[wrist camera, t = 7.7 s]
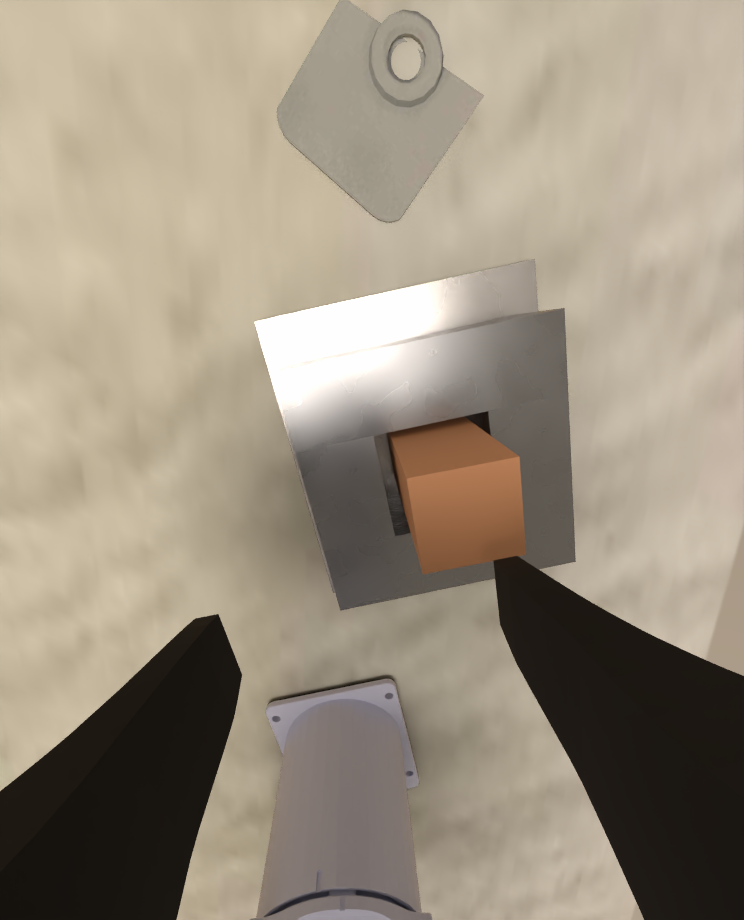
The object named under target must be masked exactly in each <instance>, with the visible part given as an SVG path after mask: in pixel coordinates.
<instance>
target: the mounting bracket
mask: <svg viewBox="0 0 744 920" xmlns="http://www.w3.org/2000/svg"><path fill="white" fill-rule="evenodd" d="M402 37H411V38H413V39H414V40H416V41H417V42H418V43H419V44H420V46H421V47H422V49H423V52H424V53H423V52H421V51H420V50H418V51H419V53H420V57H421V66H420V69H419V72H418V74H417V75H416V76H415V77H414V78H412V79H410V80H402V79H399V78H398V77H397V76H396V75H395V74H394V72H393V70H392V67H391V55H392V52H393V50H394V48H395V47H396V46H397V45H398V44H400V43H402V42H407V41H405V40H404V39H403V38H402ZM483 97H484V95H483V94H481V93H480V92H478V91H477V90H476V89H474V88H473V87H471V86H470V85H468V84H467V83H466V82H464V81H463V80H461V79H460V78H458V77H457V76H456V75H454V74H453V73H451V72H450V71H448V70H447V69H446V68H444V67H443V51H442V47H441V42H440V38H439V34H438V33H437V31H436V29H435V28H434V26H433V25H432V23H431V21H430V20H429V19H427V18H426V17H424V16H423V15H421V14H420V13H419V12H416V11H408V10H401V11H399V12H396V13H394V14H391V15H389V16H388V17H387V18H386V20H385V21H384V22H383V23H382V24H381V23H380V22H378V21H377V20H375V19H374V18H373V17H371V16H370V15H368V14H367V13H365V12H364V11H363V10H361V9H360V8H358V7H357V6H355V5H354V4H353V3H351V2H350V1H348V0H339V2H338V4H337V5H336V7H335V9H334V11H333V12H332V14H331V16H330V17H329V19H328V21H327V23H326V24H325V26H324V28H323V30H322V31H321V33H320V35H319V37H318V38H317V40H316V42H315V44H314V45H313V47H312V49H311V51H310V52H309V54H308V56H307V57H306V59H305V61H304V63H303V64H302V66H301V68H300V70H299V71H298V73H297V75H296V77H295V78H294V80H293V82H292V84H291V85H290V87H289V89H288V91H287V92H286V94H285V96H284V98H283V99H282V101H281V103H280V104H279V106H278V108H277V118H278V122H279V126H280V129H281V130H282V132H283V134H284V136H285V137H286V138H287V140H288V141H289V142H290V143H291V144H292V145H293V146H294V147H296V148H297V149H298V150H299V151H300V152H301V153H302V154H303V155H305V156H306V157H307V158H308V159H309V160H310V161H311V162H312V163H314V164H315V165H316V166H317V167H318V168H319V169H320V170H322V171H323V172H324V173H325V174H326V175H327V176H328V177H329V178H331V179H332V180H333V181H334V182H335V183H336V184H337V185H338V186H340V187H341V188H342V189H343V190H344V191H345V192H346V193H348V194H349V195H350V196H351V197H352V198H353V199H354V200H355V201H357V202H358V203H359V204H360V205H361V206H362V207H363V208H364V209H366V210H367V211H368V212H369V213H370V214H371V215H372V216H374V217H375V218H377V219H379V220H381V221H384V222H394V221H397V220H400V218H401V217H402V215H403V214H404V212H405V211H406V209H407V208H408V206H409V205H410V203H411V202H412V201H413V199H414V198H415V196H416V195H417V193H418V192H419V190H420V189H421V187H422V186H423V184H424V183H425V182H426V180H427V179H428V177H429V176H430V174H431V173H432V171H433V170H434V168H435V167H436V165H437V164H438V162H439V161H440V160H441V158H442V157H443V155H444V154H445V152H446V151H447V149H448V148H449V146H450V145H451V143H452V142H453V140H454V139H455V138H456V136H457V135H458V133H459V132H460V130H461V129H462V127H463V126H464V124H465V123H466V121H467V120H468V119H469V117H470V116H471V114H472V113H473V111H474V110H475V108H476V107H477V105H478V104H479V102H480V101H481V99H482V98H483Z"/></svg>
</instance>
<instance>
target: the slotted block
mask: <svg viewBox="0 0 744 920" xmlns="http://www.w3.org/2000/svg"><path fill="white" fill-rule="evenodd" d="M255 325H256V329H257V332H258V336H259V339H260V343H261V346H262V349H263V353H264V356H265V360H266V363H267V367H268V370H269V373H270V377H271V380H272V384H273V387H274V391H275V394H276V398H277V401H278V404H279V408H280V411H281V415H282V418H283V422H284V425H285V429H286V432H287V435H288V439H289V442H290V446H291V449H292V453H293V456H294V459H295V463H296V466H297V470H298V473H299V477H300V480H301V484H302V487H303V490H304V494H305V497H306V501H307V504H308V508H309V511H310V514H311V518H312V521H313V525H314V528H315V532H316V535H317V539H318V542H319V545H320V549H321V552H322V556H323V559H324V563H325V566H326V569H327V573H328V576H329V580H330V583H331V587H332V590H333V593H336V596H337V600H338V603H339V607H340V610H345V609H349V608H354V607H359V606H364V605H369V604H373V603H378V602H383V601H388V600H393V599H398V598H402V597H407V596H412V595H417V594H422V593H426V592H431V591H436V590H441V589H446V588H451V587H455V586H460V585H465V584H470V583H475V582H480V581H484V580H489V579H494V578H495V571H494V562H493V561H491V562H485V563H480V564H475V565H470V566H464V567H459V568H454V569H449V570H443V571H438V572H433V573H428V574H423V573H422V569H421V566H420V562H419V559H418V556H417V552H416V549H415V545H414V542H413V539H412V535H411V532H410V528H409V525H408V522H407V518H406V515H405V511H404V508H403V505H402V501H401V498H400V494H399V491H398V488H397V484H396V481H395V477H394V473H393V467H392V462H391V456H390V451H389V445H388V440H387V434H386V433H389V432H393V431H398V430H403V429H407V428H412V427H417V426H421V425H426V424H430V423H435V422H440V421H444V420H449V419H454V418H458V417H463V416H464V417H466V418H467V419H468V420H470V421H471V422H472V423H474V424H475V425H477V426H478V427H479V428H481V429H482V430H483V431H485V432H486V433H488V434H489V435H490V436H492V437H493V438H494V439H496V440H497V441H499V442H500V443H501V444H503V445H504V446H506V447H507V448H508V449H510V450H511V451H512V452H514V453H515V454H517V455H518V456H519V457H520V471H521V486H522V500H523V515H524V529H525V544H526V555H522V556H518V557H520V558H522V559H523V560H525V561H526V562H528V563H529V564H531V565H532V566H534V567H535V568H537V569H542V568H547V567H552V566H557V565H561V564H566V563H571V562H576V561H575V538H574V515H573V493H572V470H571V447H570V425H569V402H568V379H567V357H566V334H565V311H564V308H561V309H553V310H546V311H538V299H537V283H536V268H535V259H532V260H528V261H523V262H519V263H514V264H510V265H505V266H501V267H496V268H492V269H487V270H483V271H478V272H474V273H469V274H465V275H460V276H456V277H452V278H447V279H443V280H438V281H434V282H429V283H425V284H420V285H416V286H411V287H407V288H402V289H398V290H393V291H389V292H385V293H380V294H376V295H371V296H367V297H362V298H358V299H353V300H349V301H344V302H340V303H335V304H331V305H326V306H322V307H317V308H313V309H309V310H304V311H300V312H295V313H291V314H286V315H282V316H277V317H273V318H268V319H264V320H259V321H255Z"/></svg>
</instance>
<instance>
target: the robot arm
mask: <svg viewBox="0 0 744 920" xmlns="http://www.w3.org/2000/svg"><path fill="white" fill-rule="evenodd" d="M493 562H494V571H495V580H496V590H497V599H498V608H499V617H500V625H501V627H502V630H503V632H504V635H505V637H506V640H507V642H508V644H509V647H510V649H511V651H512V654H513V656H514V658H515V661H516V663H517V665H518V667H519V669H520V670H521V672H522V674H523V676H524V678H525V680H526V681H527V683H528V685H529V687H530V689H531V690H532V692H533V694H534V696H535V698H536V699H537V701H538V703H539V705H540V706H541V708H542V710H543V712H544V714H545V715H546V717H547V719H548V721H549V723H550V724H551V726H552V728H553V730H554V731H555V733H556V735H557V737H558V739H559V740H560V742H561V744H562V746H563V748H564V749H565V751H566V753H567V755H568V756H569V758H570V760H571V762H572V764H573V766H574V768H575V770H576V772H577V774H578V776H579V778H580V779H581V781H582V783H583V785H584V787H585V790H586V792H587V794H588V796H589V798H590V800H591V803H592V805H593V807H594V809H595V811H596V813H597V816H598V818H599V820H600V822H601V824H602V826H603V829H604V831H605V833H606V835H607V837H608V839H609V842H610V844H611V846H612V848H613V851H614V853H615V855H616V857H617V859H618V862H619V864H620V866H621V868H622V871H623V873H624V875H625V877H626V880H627V882H628V884H629V886H630V889H631V891H632V893H633V895H634V897H635V900H636V902H637V904H638V906H639V909H640V911H641V913H642V915H643V918H644V920H744V676H742V675H740V674H737V673H735V672H732V671H730V670H727V669H725V668H722V667H720V666H718V665H716V664H713V663H711V662H709V661H706V660H704V659H702V658H699V657H697V656H695V655H693V654H691V653H689V652H686V651H684V650H682V649H680V648H678V647H676V646H674V645H671V644H669V643H667V642H665V641H663V640H661V639H658V638H656V637H654V636H652V635H650V634H648V633H646V632H644V631H642V630H641V629H639V628H637V627H635V626H633V625H631V624H629V623H627V622H626V621H624V620H622V619H620V618H618V617H616V616H614V615H613V614H611V613H609V612H607V611H605V610H604V609H602V608H600V607H598V606H597V605H595V604H593V603H591V602H590V601H588V600H586V599H585V598H583V597H581V596H580V595H578V594H576V593H575V592H573V591H571V590H570V589H568V588H567V587H565V586H563V585H562V584H560V583H559V582H557V581H556V580H554V579H552V578H551V577H549V576H548V575H546V574H545V573H543V572H542V571H540V570H538V569H537V568H535V567H534V566H532V565H531V564H529V563H528V562H526V561H525V560H523V559H522V558H520V557H518V556H513V557H507V558H502V559H497V560H493ZM241 678H242V673H241V671H240V668H239V666H238V663H237V661H236V658H235V655H234V653H233V650H232V648H231V645H230V643H229V640H228V638H227V635H226V632H225V630H224V627H223V625H222V622H221V620H220V617H219V615H218V614H217V615H212V616H207V617H201V618H196V619H194V620H193V621H192V622H191V623H190V624H189V625H187V626H186V627H185V628H184V629H183V630H182V631H181V632H180V633H179V634H177V635H176V636H175V637H174V638H173V639H172V640H171V641H170V642H169V643H168V644H167V645H166V646H165V647H164V648H163V649H162V650H161V651H160V652H159V653H157V654H156V655H155V656H154V657H153V658H152V659H151V660H150V661H149V662H148V663H147V664H146V665H145V666H144V667H143V668H142V669H141V670H140V671H139V672H138V673H137V674H136V675H134V676H133V677H132V678H131V679H130V680H129V681H128V682H127V683H126V684H125V685H124V686H123V687H122V688H121V689H120V690H119V691H118V692H116V693H115V694H114V695H113V696H112V697H111V698H110V699H109V700H108V701H106V702H105V703H104V704H103V705H102V706H101V707H100V708H99V709H98V710H97V711H95V712H94V713H93V714H92V715H91V716H90V717H89V718H88V719H87V720H85V721H84V722H83V723H82V724H81V725H80V726H79V727H78V728H77V729H75V730H74V731H73V732H72V733H71V734H70V735H69V736H67V737H66V738H65V739H64V740H63V741H62V742H60V743H59V744H58V745H57V746H56V747H55V748H53V749H52V750H51V751H50V752H49V753H47V754H46V755H45V756H44V757H43V758H41V759H40V760H39V761H38V762H36V763H35V764H34V765H33V766H31V767H30V768H29V769H28V770H26V771H25V772H24V773H23V774H21V775H20V776H19V777H18V778H16V779H15V780H14V781H13V782H12V783H10V784H9V785H8V786H6V787H5V788H4V789H3V790H1V791H0V920H176V919H177V915H178V910H179V906H180V902H181V898H182V893H183V889H184V885H185V881H186V876H187V872H188V868H189V863H190V859H191V856H192V852H193V848H194V845H195V841H196V838H197V834H198V831H199V827H200V824H201V821H202V818H203V815H204V812H205V809H206V805H207V802H208V799H209V796H210V793H211V790H212V786H213V783H214V780H215V777H216V774H217V771H218V768H219V764H220V761H221V758H222V755H223V752H224V749H225V745H226V742H227V739H228V736H229V732H230V729H231V726H232V722H233V719H234V715H235V710H236V705H237V700H238V695H239V689H240V683H241ZM387 693H389V694H387ZM266 715H267V718H268V720H269V723H270V725H271V728H272V730H273V732H274V735H275V737H276V740H277V742H278V745H279V747H280V750H281V752H282V754H283V761H282V767H281V773H280V779H279V785H278V791H277V797H276V803H275V809H274V815H273V821H272V827H271V833H270V839H269V845H268V851H267V857H266V863H265V869H264V875H263V881H262V887H261V893H260V899H259V905H258V911H257V918H252V919H250V920H432V916H431V914H430V913H422V912H421V903H420V895H419V887H418V878H417V870H416V861H415V853H414V845H413V836H412V828H411V820H410V811H409V803H408V794H407V789H411V788H415V787H417V786H418V784H419V777H418V773H417V769H416V765H415V761H414V757H413V753H412V749H411V745H410V741H409V737H408V733H407V729H406V725H405V721H404V717H403V713H402V709H401V705H400V701H399V697H398V693H397V689H396V685H395V682H394V681H393V680H392V679H382V680H377V681H372V682H367V683H362V684H357V685H352V686H347V687H342V688H337V689H333V690H328V691H323V692H318V693H313V694H308V695H303V696H298V697H293V698H288V699H283V700H278V701H274V702H271V703H269V704H268V705H267V708H266Z"/></svg>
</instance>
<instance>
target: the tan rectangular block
mask: <svg viewBox="0 0 744 920" xmlns="http://www.w3.org/2000/svg"><path fill="white" fill-rule="evenodd" d="M386 434H387V440H388V445H389V451H390V456H391V462H392V467H393V473H394V477H395V481H396V484H397V488H398V491H399V494H400V498H401V501H402V505H403V508H404V511H405V515H406V518H407V522H408V525H409V528H410V532H411V535H412V539H413V542H414V545H415V549H416V552H417V556H418V559H419V562H420V566H421V569H422V573H423V574H428V573H433V572H438V571H443V570H449V569H454V568H459V567H464V566H470V565H475V564H480V563H485V562H491V561H493V560H497V559H502V558H507V557H513V556H522V555H526V544H525V529H524V515H523V500H522V486H521V471H520V457H519V456H518V455H517V454H515V453H514V452H512V451H511V450H510V449H508V448H507V447H506V446H504V445H503V444H501V443H500V442H499V441H497V440H496V439H494V438H493V437H492V436H490V435H489V434H488V433H486V432H485V431H483V430H482V429H481V428H479V427H478V426H477V425H475V424H474V423H472V422H471V421H470V420H468V419H467V418H466V417H464V416H463V417H458V418H454V419H449V420H444V421H440V422H435V423H430V424H426V425H421V426H417V427H412V428H407V429H403V430H398V431H393V432H389V433H386Z"/></svg>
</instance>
